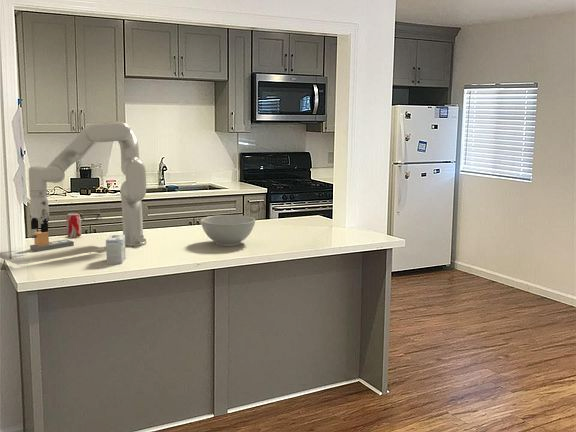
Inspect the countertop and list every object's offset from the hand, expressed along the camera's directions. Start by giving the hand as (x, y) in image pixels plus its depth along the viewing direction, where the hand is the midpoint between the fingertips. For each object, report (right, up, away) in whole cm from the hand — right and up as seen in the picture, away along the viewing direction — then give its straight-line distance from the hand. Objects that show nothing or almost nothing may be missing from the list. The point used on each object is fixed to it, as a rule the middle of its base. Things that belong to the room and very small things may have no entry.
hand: (39, 230), depth 299 cm
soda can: (+4, -4, +37) cm, 37 cm away
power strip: (+4, -10, +6) cm, 12 cm away
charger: (0, -9, +2) cm, 9 cm away
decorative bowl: (+85, -7, +22) cm, 88 cm away
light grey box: (+39, -13, -14) cm, 44 cm away
